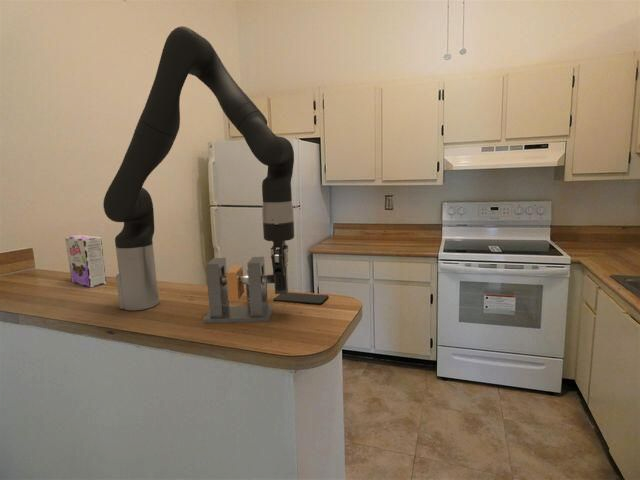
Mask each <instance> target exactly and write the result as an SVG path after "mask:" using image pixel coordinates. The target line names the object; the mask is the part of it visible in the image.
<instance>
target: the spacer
mask: <svg viewBox="0 0 640 480" xmlns="http://www.w3.org/2000/svg"><path fill="white" fill-rule="evenodd" d="M240 275H244V267H243V265H232V266H231V267H230V268H229V270H228V271H227V273H226V276H227V290H228V301H229V302H230V301H239V300H240V299H241V297H242V296H243V294H244V293H245V284H239V276H240Z"/></svg>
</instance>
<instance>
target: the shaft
mask: <svg viewBox="0 0 640 480" xmlns="http://www.w3.org/2000/svg"><path fill="white" fill-rule="evenodd" d="M277 270H281V268H277ZM288 277H289V276H288V266H287V265H286V266H285V290H284V291H277V290H276V278H275V276H274V274H273V273H272V274H265V275H262V284H265V283H267V284H274V294H275V295H280V294H287V293H289V280H288V279H289V278H288ZM239 284H244V285H246V284H249V281H248V274H243V275H240V276H239ZM222 285H227V276H222Z"/></svg>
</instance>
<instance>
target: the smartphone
mask: <svg viewBox="0 0 640 480" xmlns="http://www.w3.org/2000/svg"><path fill="white" fill-rule="evenodd" d="M327 300H329V295H328V294H316V295H315V294H314V293H300V292H299V293H297V292H287V294H277V296H275V297H274V298H273V302H279V303H287V304H289V303H292V304H301V305H312V306H322V305H324V304H325V302H326V301H327Z"/></svg>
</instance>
